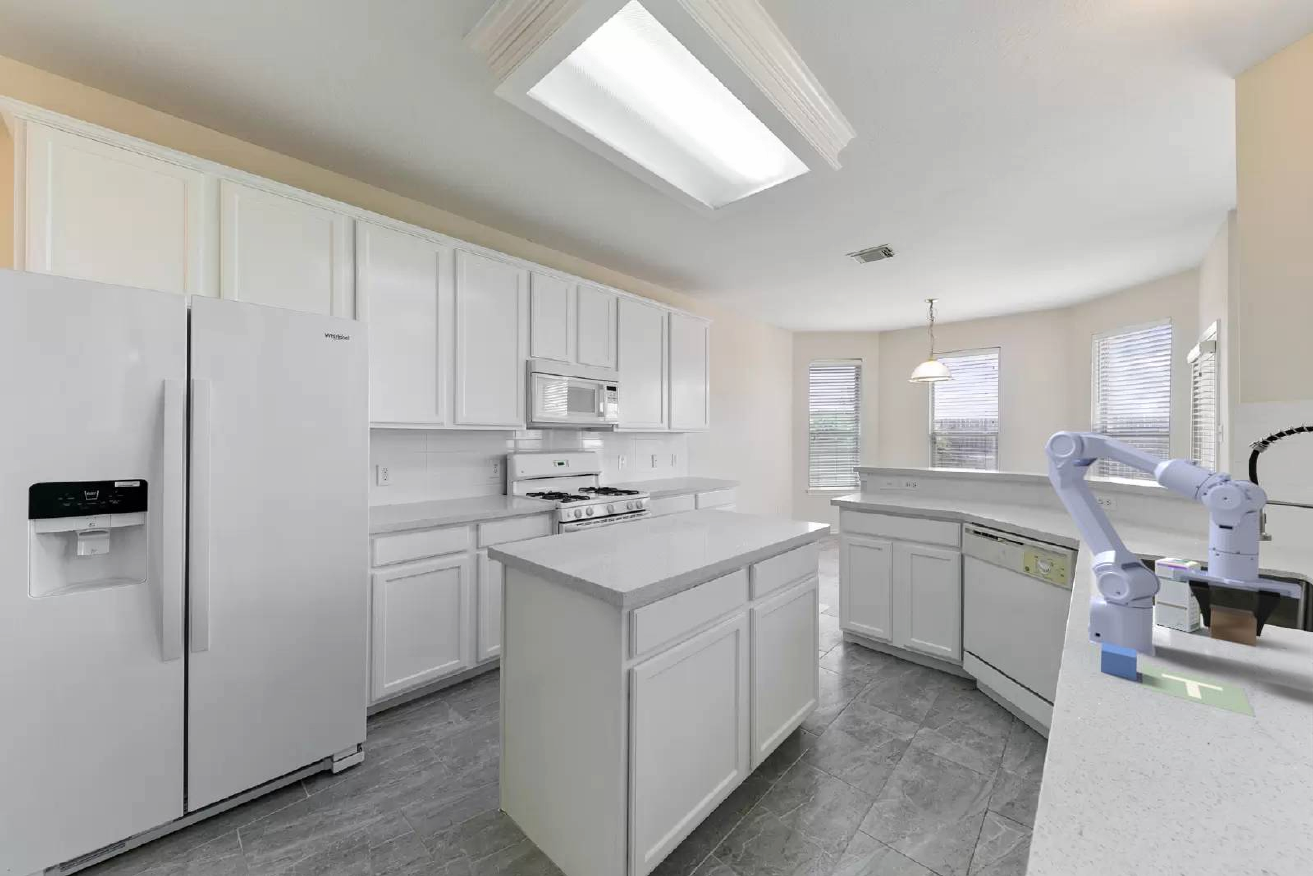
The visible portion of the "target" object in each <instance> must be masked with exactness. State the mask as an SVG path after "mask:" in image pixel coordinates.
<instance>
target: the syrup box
mask: <svg viewBox="0 0 1313 876" xmlns="http://www.w3.org/2000/svg"><path fill="white" fill-rule="evenodd" d="M1172 568H1180V569H1191V570H1201V569H1202V566H1201V562H1198V561H1194V560H1191V559H1189V560H1188V559H1184V558H1176V557H1169V556H1168V557H1165V558H1161V559H1157V560H1154V573H1155V574H1156V575H1157V576H1158V578H1159V580H1160V583H1161V588H1160V591H1159V592H1158V593H1157V594H1156V595H1155V596H1154V624H1155V625H1157V624H1159V625H1158V626H1160V625H1163V626H1162V627H1164V626H1167V627H1173V628H1176V629H1179V630H1182V631H1181V632H1183V631H1186V632H1185V633H1187V632H1190V633H1191V632H1194V631H1196V629H1197V630H1199V629H1201V628H1200V627H1201V615H1202V613H1201V609H1200V606H1199V604H1198V602H1197V599H1196V597H1195V596H1194V594H1193V592H1192V590H1191V588H1190V586H1189V584H1188V581H1175V580H1172ZM1167 627H1166V628H1167ZM1198 628H1199V629H1198ZM1179 630H1178V631H1179Z"/></svg>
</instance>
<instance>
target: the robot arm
mask: <svg viewBox="0 0 1313 876" xmlns="http://www.w3.org/2000/svg"><path fill="white" fill-rule="evenodd" d="M1043 449H1044V450H1043V452H1044V454H1045V455H1046V456H1047V461H1048V462H1047V463H1048V466H1047V467H1048V468H1047V469H1048V479H1049V481H1050V483H1051V485H1052V486H1053V489H1054V490H1055V492H1056V493H1057V495H1058V496H1059V498H1060V500H1061V503H1062V504H1063V505H1064V507H1065V508H1066V510H1067V512H1068V514H1069V515H1070V517H1071V519H1072V521H1073V522H1074V524H1075V526H1076V528H1077V529H1078V531H1079V533H1080V534H1081V536H1082V538H1083V539H1084V541H1085V543H1086V545H1087V547H1088V548H1089V549H1090V551H1091V553H1092V555H1093V557H1094V559H1093V563H1092V566H1091V569H1092V571H1093V573H1094V575H1095V579H1096V580H1095V581H1096V587H1097V589H1098V592H1099V593H1100V594H1101V595H1102V596H1095V595H1091V596H1090V601H1089V602H1090V605H1089V622H1088V623H1087V632H1089V636H1088V639H1089V640H1088V641H1089V642H1090V643H1092V644H1098V645H1102V642H1103V643H1108V644H1112V645H1117V646H1121V647H1126V648H1130V649H1135V650H1137V654H1142V655H1146V656H1151V657H1156V649H1155V644H1154V643H1153V627H1154V626H1153V625H1154V624H1153V622H1154V621H1153V620H1154V619H1153V618H1154V617H1153V616H1154V602H1153V597H1155V595H1156V594H1157V593H1158V592H1159V591H1160V588H1161V583H1160V580H1159V578H1158V576H1157V575H1156V574H1155V571H1154V570H1152V569H1150V568H1149V567H1147V566H1146V564H1144V562H1143V561H1142V559H1141V558H1140V557H1139V556H1138V555H1136V554H1135V553H1133V552H1132V551H1130V550H1129V549H1127V547H1126V545H1125V543H1124V542H1123V541H1122V538H1120V537H1121V536H1119V534H1118V532H1117V531H1116V529H1115V527H1114V526H1113V524H1112V523H1111V521H1110V519H1109V518H1108V516H1107V515H1106V513H1105V512H1104V510H1103V508H1102V506H1101V505H1100V503H1099V502H1098V500H1097V499H1096V497H1095V495H1094V493H1093V492H1092V491H1091V488H1090V487H1089V485H1088V484H1087V482H1086V481H1085V478H1084V477H1085V476H1086V474H1087V473H1088V470H1089V468H1090V467H1092V465H1094V464H1095V463H1096V462H1097V461H1098V460H1099V459H1100V458H1101V459H1103V458H1104V459H1105V458H1106V459H1110V460H1112V461H1114V462H1117V463H1120V464H1124V465H1125V466H1127V467H1131V468H1133V469H1137V470H1138V471H1142V472H1144V473H1147V474H1148V475H1149V474H1150V475H1153V477H1154V478H1155V480H1156V482H1157V483H1158V485H1159V486H1161V487H1164V488H1166V489H1168V490H1170V491H1173V492H1175V493H1177V494H1180V495H1183V496H1185V497H1187V498H1189V499H1191V500H1194V501H1196V502H1198V503H1203V505H1204V506H1205V508H1207V510H1208V511H1209V521H1208V522H1209V523H1208V553H1207V554H1208V560H1207V570H1191V569H1180V568H1172V580H1175V581H1188V584H1189V586H1190V588H1191V590H1192V592H1193V594H1194V596H1195V597H1196V599H1197V602H1198V604H1199V606H1200V609H1201V616H1202V623H1203V627H1206V628H1208V627H1210V621H1211V620H1210V605H1211V596H1212V595H1211V594H1212V593H1211V592H1212V591H1211V589H1210V588H1211V587H1210V586H1217V587H1222V588H1223V587H1224V588H1231V589H1237V590H1243V591H1244V590H1245V591H1250V592H1252V594H1253V596H1252V597H1253V598H1252V599H1253V614H1254V616H1255V618H1256V619H1257V628H1256V637H1258V638H1259V637H1260V638H1261V637H1262V636H1261V635H1262V631H1263V629H1264V627H1265V624H1266V622H1267V620H1268V619H1269V617H1270V616H1271V615H1272V614H1273V612H1274V611H1275V610H1276V609H1277V608H1278V606H1280V604H1281V603H1282V597H1281V596H1285V597H1290V598H1292V599H1300V600H1301V599H1302V586H1300V585H1299V584H1298V583H1290V582H1285V581H1278V580H1273V579H1267V578H1261V577H1259V567H1260V566H1259V563H1260V536H1261V535H1260V534H1261V533H1260V530H1261V528H1260V513H1261V512H1259V511H1260V510H1262V509H1263V508H1264V507H1265V506H1266V504H1267V502H1268V496H1267V493H1266V491H1265V490H1264V489H1263V488H1262V487H1261V486H1259V485H1257V484H1256V483H1254V482H1252V481H1251V480H1249V479H1240V478H1239V479H1232V478H1231V477H1232V474H1230V473H1227V472H1220V473H1219V472H1217V471H1214V470H1211V469H1209V468H1206V467H1204V466H1200V465H1198V461H1197V460H1196V459H1195V460H1194V459H1193V458H1184V459H1183V458H1179V457H1178V458H1173V459H1170V460H1165V459H1164V458H1160V457H1159V456H1156V455H1155V454H1151V453H1149V452H1146V451H1144V450H1142V449H1140V448H1137V447H1135V446H1132V445H1130V444H1127V443H1126V442H1124V441H1120V440H1118V439H1116V438H1114V437H1111V436H1109V435H1105V434H1099V433H1097V432H1095V431H1092V430H1085V431H1069V430H1068V431H1067V430H1062V431H1057V432H1055V433H1054V434H1052V435H1051V436H1050V437H1049V439H1048V441H1047V443H1046V444H1045V447H1044V448H1043Z"/></svg>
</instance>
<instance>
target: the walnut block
mask: <svg viewBox="0 0 1313 876" xmlns="http://www.w3.org/2000/svg"><path fill="white" fill-rule="evenodd" d="M1210 620H1211V621H1210V627H1207V631H1208V633H1209V637H1210V638H1211V639H1215V640H1218V641H1219V640H1220V641H1224V642H1229V643H1234V644H1240V645H1245V646H1251V647H1255V648H1256V646H1257V636H1256V628H1257V619H1256V618H1255V616H1254V612H1253V611H1251V610H1245V609H1239V608H1232V607H1225V606H1222V605H1216V604H1215V605H1214V604H1210Z"/></svg>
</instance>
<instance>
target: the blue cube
mask: <svg viewBox="0 0 1313 876" xmlns="http://www.w3.org/2000/svg"><path fill="white" fill-rule="evenodd" d="M1100 651H1101V652H1100V655H1101V656H1100V657H1101V658H1100V672H1101V673H1104V674H1109V675H1113V676H1117V677H1120V678H1125V679H1127V680H1133V681H1137V671H1138V670H1137V667H1138V666H1137V665H1138V663H1137V662H1138V660H1137V659H1138V655H1137V654H1138V652H1137V650H1135V649H1130V648H1126V647H1121V646H1117V645H1112V644H1108V643H1103V642H1102V644H1101V650H1100Z"/></svg>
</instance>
